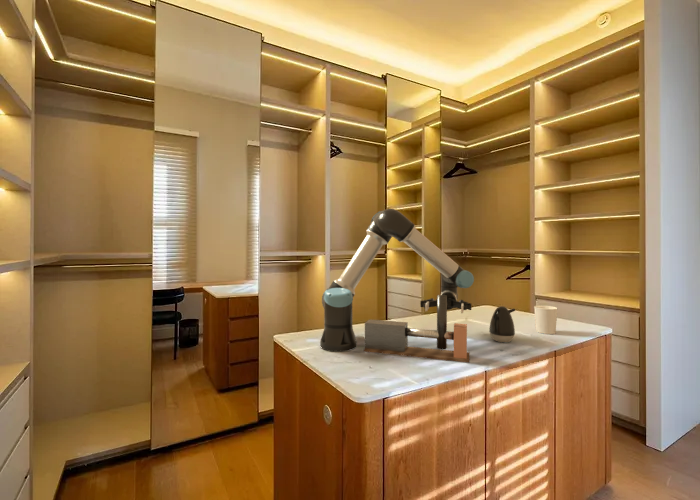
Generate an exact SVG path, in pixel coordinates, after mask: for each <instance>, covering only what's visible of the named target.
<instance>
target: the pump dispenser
mask: <svg viewBox="0 0 700 500" xmlns="http://www.w3.org/2000/svg"><path fill="white" fill-rule="evenodd" d="M514 312H516V309H515V308H511V309H508V307H506V306H504V305H503V306H501V305H500V306H498V307H496V309H495V310H494V312H492V313H493V314H492V316H491V319H490V324H489V333H490V334H489V335H490V337H491V338H492V340H494V341H495V342H498V343H502V342H507V343H510V342H511V341H513V339H514V337H515V334H516V330H515V324H514V319H513V316H512V314H511V313H514Z"/></svg>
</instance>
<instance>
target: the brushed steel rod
mask: <svg viewBox="0 0 700 500" xmlns="http://www.w3.org/2000/svg"><path fill="white" fill-rule="evenodd" d="M436 299H437V307H436V330H435V329H424V328H423V329H422V328H421V329H420V328H410V327H408V328H405V336H408V337H415V338H426V339H436V349H440V350H448V349H447V348H448V347H447V345H448V343H447V340H449V341H454V331H450V330H448V329H447V328H448V327H447V326H448V324H447V323H448V321H447V320H448V317H447V316H448V314H447V313H448V310H447V295H441V294H437V296H436Z"/></svg>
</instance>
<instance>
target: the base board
mask: <svg viewBox="0 0 700 500" xmlns="http://www.w3.org/2000/svg"><path fill="white" fill-rule="evenodd" d="M363 352H364V353H375V354H382V355H383V354H385V355H392V356H393V355H394V356H401V357H402V356H403V357H413V358H423V359H431V360H440V361H441V360H442V361H451V362H458V363H459V362H461V363H469V364H470V363H471V362H470V361H471V360H470V356H471V355H470V351H467V359H465V358H455V357H454V350H449V349H438V348H427V347H418V346H417V347H416V346H408V347H407V349H406V351H405V352H398V351H388V350H378V349H368V348H365V347H364V348H363Z"/></svg>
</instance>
